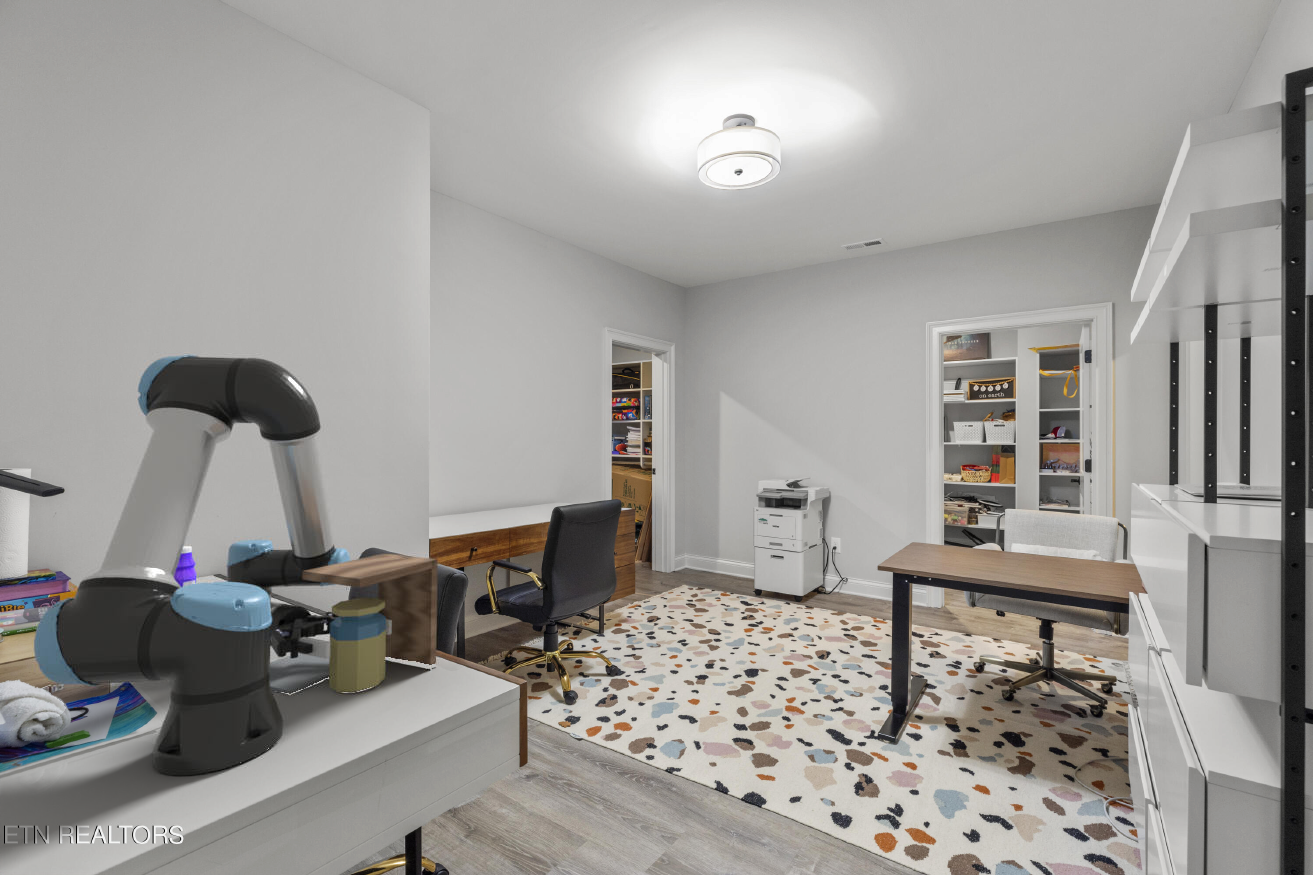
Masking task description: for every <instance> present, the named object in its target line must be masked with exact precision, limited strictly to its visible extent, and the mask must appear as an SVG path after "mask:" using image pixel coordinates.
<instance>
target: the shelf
mask: <svg viewBox="0 0 1313 875" xmlns="http://www.w3.org/2000/svg"><path fill="white" fill-rule="evenodd" d="M438 560H439V559H438V558H437V559H436V558H430V557H429V558H427V557H419V556H409V555H404V554H403V555H402V554H394V553H393V554H391V553H381V554H376V555H372V556H366V557H362V558H357V559H353V560H350V561H347V562H343V563H338V564H333V565H329V566H324V567H319V568H315V569H310V570H305V571H303V576H302V579H303V580H310V581H317V582H324V583H331V584H337V585H338V586H345V587H352V588H358V589H359V588H364V587H368V586H371V585H375V584H378V585H377V586H378V587H377V588H378V595H377V596H378V597H377V598H378V599H381V600H383V601H385V607H384V608H383V609H382V610H380V611H379V612H378V613H380V614H382V615H384V616H385V617H386V619H388V620H392V634H390V635H386V652H385V657H391V658H395V659H402V660H408V661H416V662H420V663H424V664H429V665H432V664H435V663H436V664H437V627H438V626H437V625H438V623H437V621H438V619H437V618H438V617H437V616H438V614H437V613H438Z"/></svg>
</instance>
